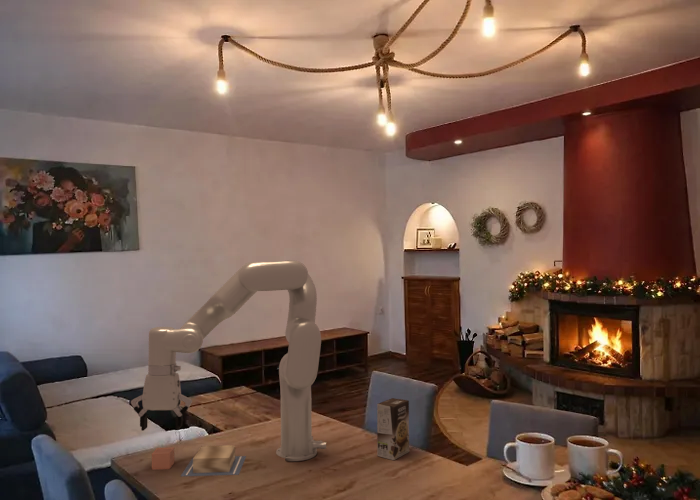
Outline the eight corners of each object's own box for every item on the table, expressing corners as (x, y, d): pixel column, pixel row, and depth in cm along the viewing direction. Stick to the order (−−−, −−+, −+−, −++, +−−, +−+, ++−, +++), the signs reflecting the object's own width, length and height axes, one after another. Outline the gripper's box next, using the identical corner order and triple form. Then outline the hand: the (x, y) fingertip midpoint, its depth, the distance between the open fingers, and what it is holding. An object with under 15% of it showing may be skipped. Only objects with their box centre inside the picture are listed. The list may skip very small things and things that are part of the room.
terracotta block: (174, 466, 161) (174, 447, 161) (169, 472, 156) (169, 453, 156) (157, 466, 160) (157, 447, 160) (151, 473, 155) (151, 453, 155)
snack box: (394, 461, 162) (393, 406, 162) (376, 456, 166) (376, 403, 166) (410, 451, 170) (409, 400, 170) (392, 447, 173) (392, 396, 174)
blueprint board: (246, 459, 165) (246, 455, 165) (238, 478, 151) (238, 474, 151) (192, 460, 164) (192, 457, 164) (180, 479, 150) (180, 475, 150)
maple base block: (235, 458, 163) (235, 445, 163) (229, 472, 153) (229, 457, 153) (201, 459, 162) (201, 446, 162) (193, 473, 152) (193, 458, 152)
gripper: (195, 367, 162) (194, 425, 162) (136, 367, 162) (135, 425, 161) (188, 372, 155) (188, 433, 154) (127, 372, 154) (126, 433, 154)
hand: (161, 429), depth 158 cm, fingers open, 9 cm apart
